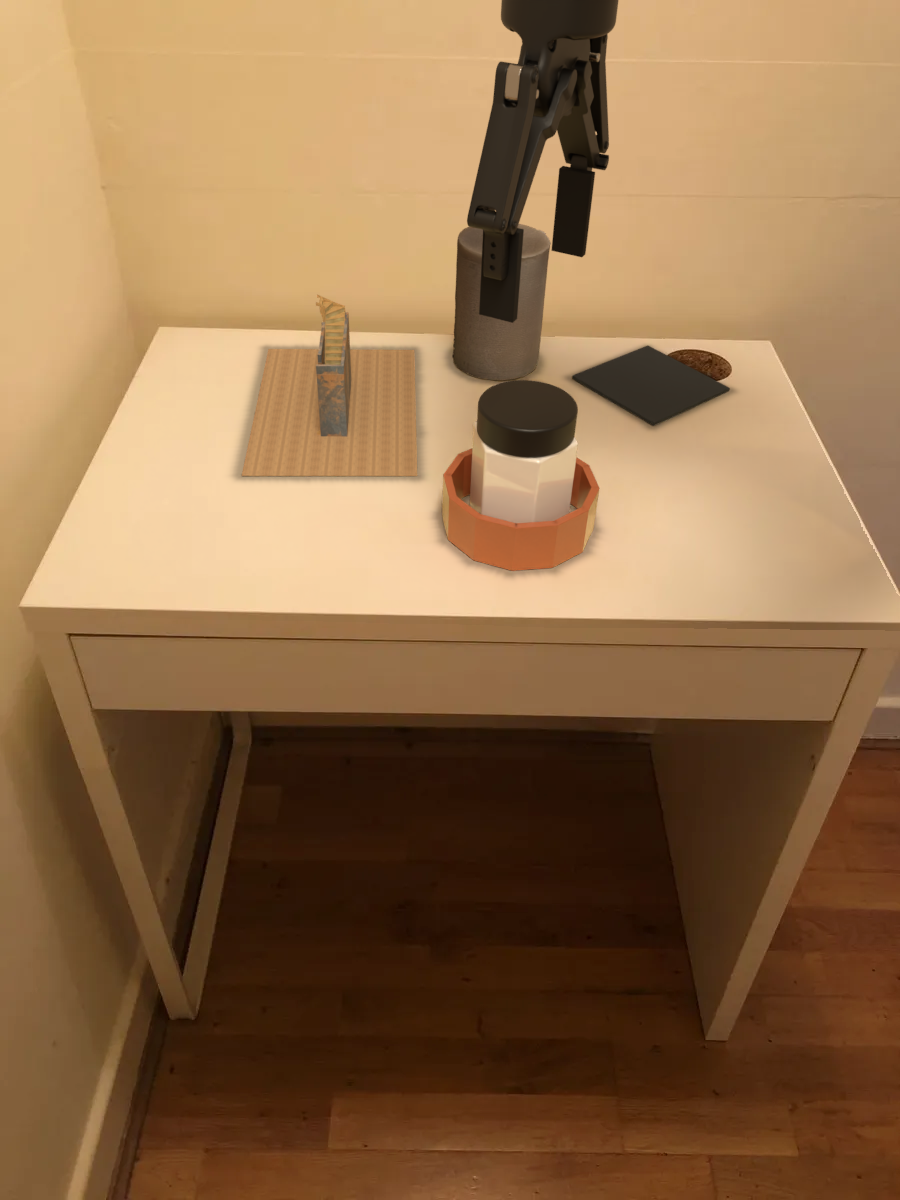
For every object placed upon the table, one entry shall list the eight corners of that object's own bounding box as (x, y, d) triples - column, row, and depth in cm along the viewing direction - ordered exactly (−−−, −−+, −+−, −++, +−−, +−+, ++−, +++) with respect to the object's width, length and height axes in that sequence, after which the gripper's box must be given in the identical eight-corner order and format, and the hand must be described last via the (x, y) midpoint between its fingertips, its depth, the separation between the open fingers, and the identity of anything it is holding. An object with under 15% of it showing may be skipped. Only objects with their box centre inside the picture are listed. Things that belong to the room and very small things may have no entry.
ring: (621, 532, 86) (628, 490, 83) (510, 590, 80) (514, 547, 77) (523, 465, 94) (527, 424, 91) (414, 513, 88) (414, 471, 85)
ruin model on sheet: (268, 349, 110) (259, 264, 103) (414, 350, 111) (414, 266, 104) (241, 475, 91) (228, 382, 85) (417, 476, 92) (417, 383, 86)
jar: (577, 507, 89) (593, 390, 81) (554, 561, 83) (570, 440, 75) (483, 487, 91) (490, 370, 83) (455, 537, 85) (459, 417, 77)
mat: (729, 391, 106) (730, 387, 105) (653, 426, 100) (653, 422, 100) (647, 348, 112) (647, 345, 112) (571, 378, 107) (572, 375, 106)
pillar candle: (435, 354, 110) (437, 220, 100) (502, 332, 115) (511, 201, 105) (489, 390, 104) (497, 252, 94) (557, 365, 109) (572, 231, 99)
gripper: (580, -72, 71) (552, 221, 85) (415, -18, 55) (415, 335, 69) (680, -61, 69) (634, 238, 83) (539, -1, 52) (512, 361, 66)
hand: (535, 283), depth 76 cm, fingers open, 13 cm apart
